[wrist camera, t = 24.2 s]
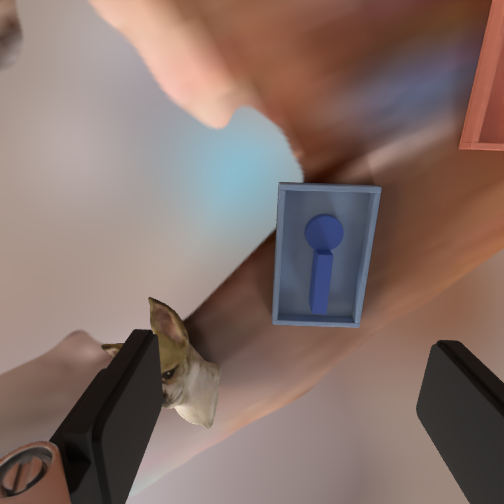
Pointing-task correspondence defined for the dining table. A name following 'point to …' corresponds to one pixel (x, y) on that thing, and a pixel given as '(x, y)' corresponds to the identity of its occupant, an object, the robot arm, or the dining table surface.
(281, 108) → the dining table surface
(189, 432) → the dining table surface
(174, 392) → the ceramic sculpture
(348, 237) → the blue tray
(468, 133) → the rose tray
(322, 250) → the blue spoon
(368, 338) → the dining table surface
